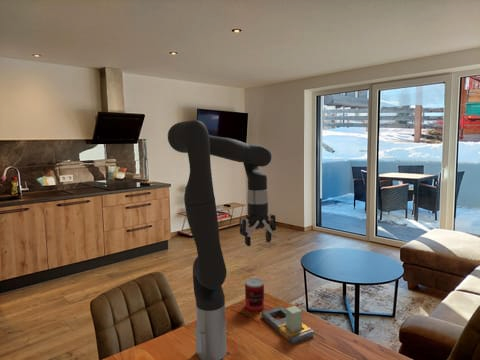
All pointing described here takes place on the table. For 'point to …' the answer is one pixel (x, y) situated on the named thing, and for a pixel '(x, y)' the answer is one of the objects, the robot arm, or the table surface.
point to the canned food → (254, 294)
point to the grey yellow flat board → (281, 326)
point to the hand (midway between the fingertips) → (258, 243)
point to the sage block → (293, 319)
